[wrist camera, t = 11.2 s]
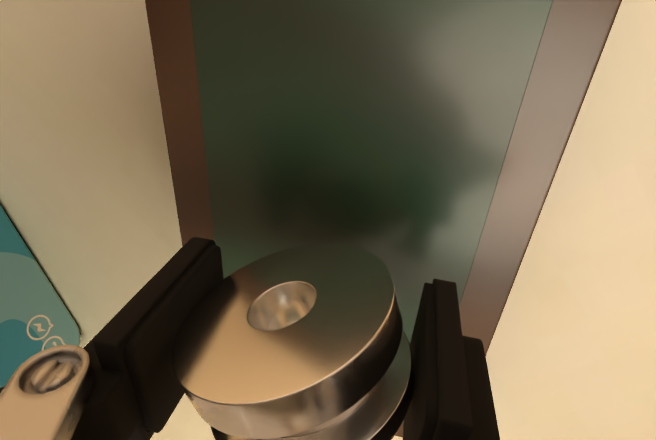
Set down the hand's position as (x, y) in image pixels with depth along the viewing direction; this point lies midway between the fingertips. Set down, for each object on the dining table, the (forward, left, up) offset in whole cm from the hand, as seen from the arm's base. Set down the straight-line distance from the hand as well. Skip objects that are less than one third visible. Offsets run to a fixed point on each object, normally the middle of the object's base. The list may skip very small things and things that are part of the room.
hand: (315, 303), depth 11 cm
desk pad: (0, 0, -5) cm, 5 cm away
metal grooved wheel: (0, 0, -1) cm, 1 cm away
